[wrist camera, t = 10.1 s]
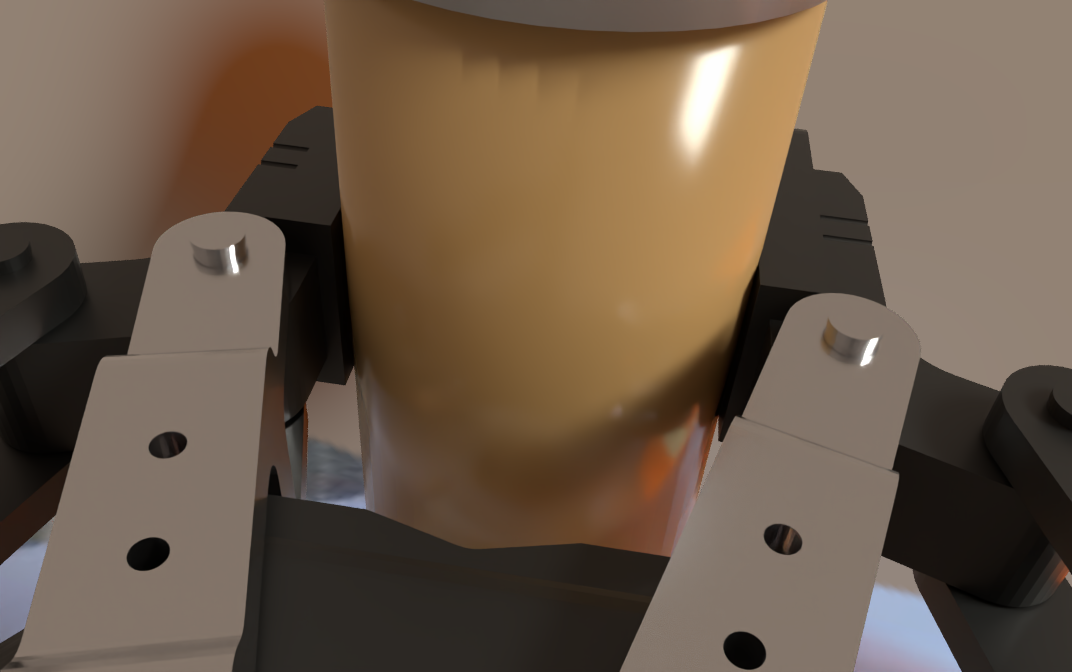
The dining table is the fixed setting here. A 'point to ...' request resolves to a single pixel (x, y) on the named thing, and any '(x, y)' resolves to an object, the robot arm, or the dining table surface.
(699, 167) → the cartridge fuse
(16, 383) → the robot arm
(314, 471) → the dining table surface
